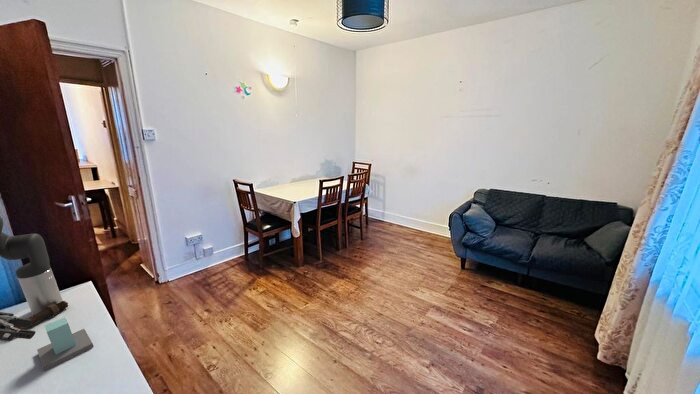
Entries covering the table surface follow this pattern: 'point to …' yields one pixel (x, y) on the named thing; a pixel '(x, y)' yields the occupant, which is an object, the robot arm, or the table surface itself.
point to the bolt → (46, 313)
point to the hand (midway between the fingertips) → (31, 329)
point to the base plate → (52, 359)
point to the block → (60, 335)
